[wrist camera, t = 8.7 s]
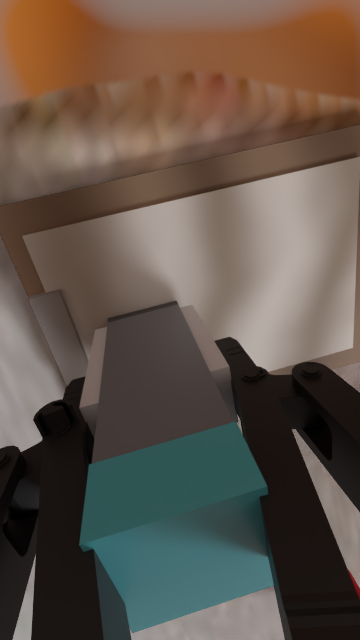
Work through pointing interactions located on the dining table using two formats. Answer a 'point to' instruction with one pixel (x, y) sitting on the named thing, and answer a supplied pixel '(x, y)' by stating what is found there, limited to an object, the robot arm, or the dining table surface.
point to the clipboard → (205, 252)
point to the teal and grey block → (170, 477)
